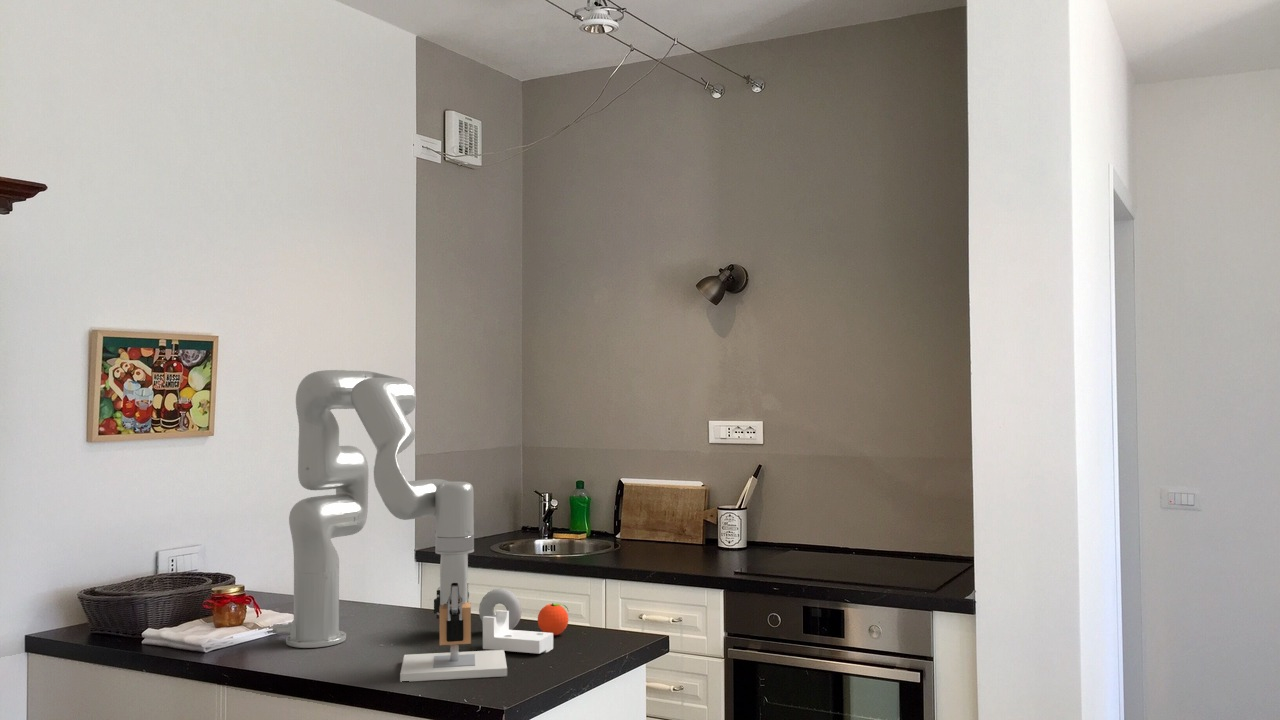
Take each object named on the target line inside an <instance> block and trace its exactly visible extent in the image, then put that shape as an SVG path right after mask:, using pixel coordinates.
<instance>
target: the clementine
mask: <svg viewBox="0 0 1280 720" xmlns="http://www.w3.org/2000/svg"><path fill="white" fill-rule="evenodd" d="M565 608H566V609H567V610H566V609H565ZM569 611H570V610H569V609H568V606H566V605H565V604H561V603H550V604H546V605H545V606H543V607H542V608H541V610H540V611H539V612H538V615H537V625H538V628H539V629H540V632H547V633H553V637H555V636H558V635H560V634H562V633H563V632H564V631H565V630H566V628H567V626H568V624H569V615H568V613H567V612H569ZM569 613H570V612H569Z"/></svg>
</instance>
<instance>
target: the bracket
mask: <svg viewBox="0 0 1280 720" xmlns="http://www.w3.org/2000/svg"><path fill="white" fill-rule="evenodd" d="M495 615H496V617H489V616H484V617H483V623H482V649H483V650H489V651H490V650H504V652H505V651H506V652H515V653H516V652H517V653H527V654H528V653H529V654H542V653H549V652H550V651H551V650H553V649H554V636H553V633H547V632H542V631H533V630H531V631H530V630H520V629H519V630H518V629H517V630H516V629H512V630H509V611H507V610H505V609H504V610H501V609H496V611H495Z"/></svg>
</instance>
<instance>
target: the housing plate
mask: <svg viewBox="0 0 1280 720" xmlns="http://www.w3.org/2000/svg"><path fill="white" fill-rule="evenodd" d="M449 646H450V649H449V651H450V652H436V653H435V652H433V653H432V652H431V653H412V654H411V653H410V654H404V655H403V659H402V664H401V669H400V673H399V682H400V683H403V682H402V681H409V682H424V681H440V680H441V681H443V680H461V679H478V678H481V679H482V678H496V677H497V678H498V677H508V666H507V659H506V653H505V651H504V650H490V649H489V650H477V651H476V650H475V651H474V650H472V651H470V650H469V651H459V649H460V648H459V646H460V644H455V645H449Z"/></svg>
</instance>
